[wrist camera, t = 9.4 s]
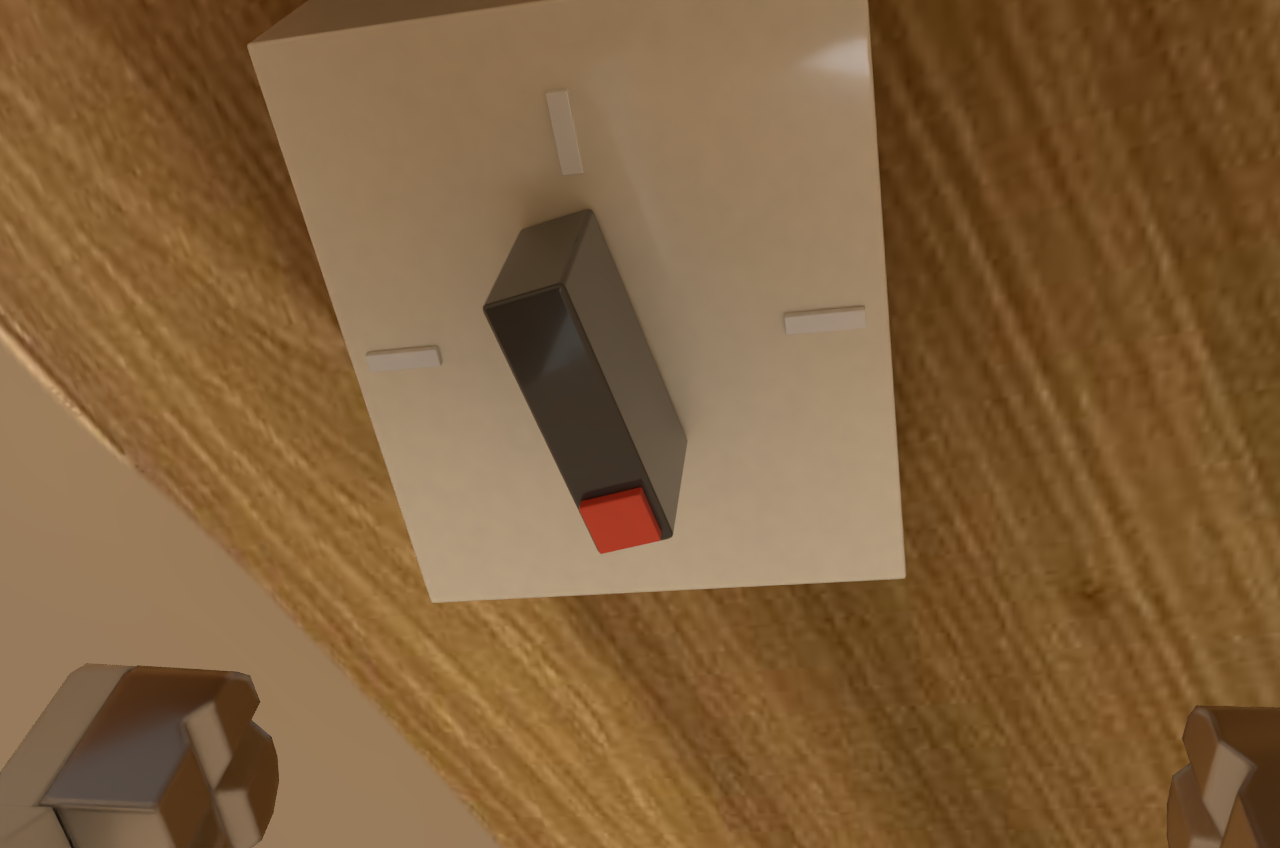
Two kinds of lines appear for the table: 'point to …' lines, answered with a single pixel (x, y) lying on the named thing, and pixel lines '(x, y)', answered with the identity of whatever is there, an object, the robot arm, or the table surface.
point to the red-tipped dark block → (590, 380)
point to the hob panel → (642, 251)
